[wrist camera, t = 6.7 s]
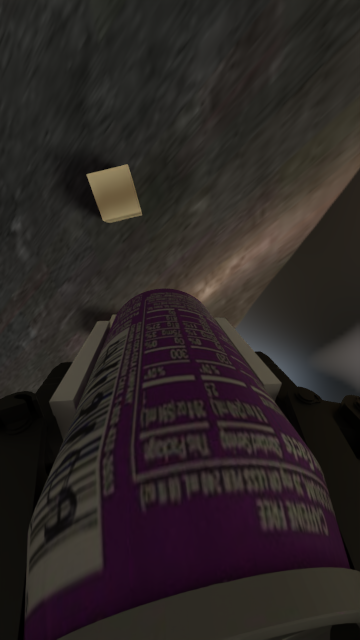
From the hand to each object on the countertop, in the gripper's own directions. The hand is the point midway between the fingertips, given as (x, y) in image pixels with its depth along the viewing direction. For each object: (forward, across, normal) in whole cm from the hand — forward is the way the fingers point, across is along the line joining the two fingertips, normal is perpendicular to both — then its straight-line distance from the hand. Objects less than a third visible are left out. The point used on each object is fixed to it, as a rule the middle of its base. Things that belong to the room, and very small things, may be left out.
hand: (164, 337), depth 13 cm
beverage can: (+1, 0, 0) cm, 1 cm away
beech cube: (+22, -5, +11) cm, 25 cm away
